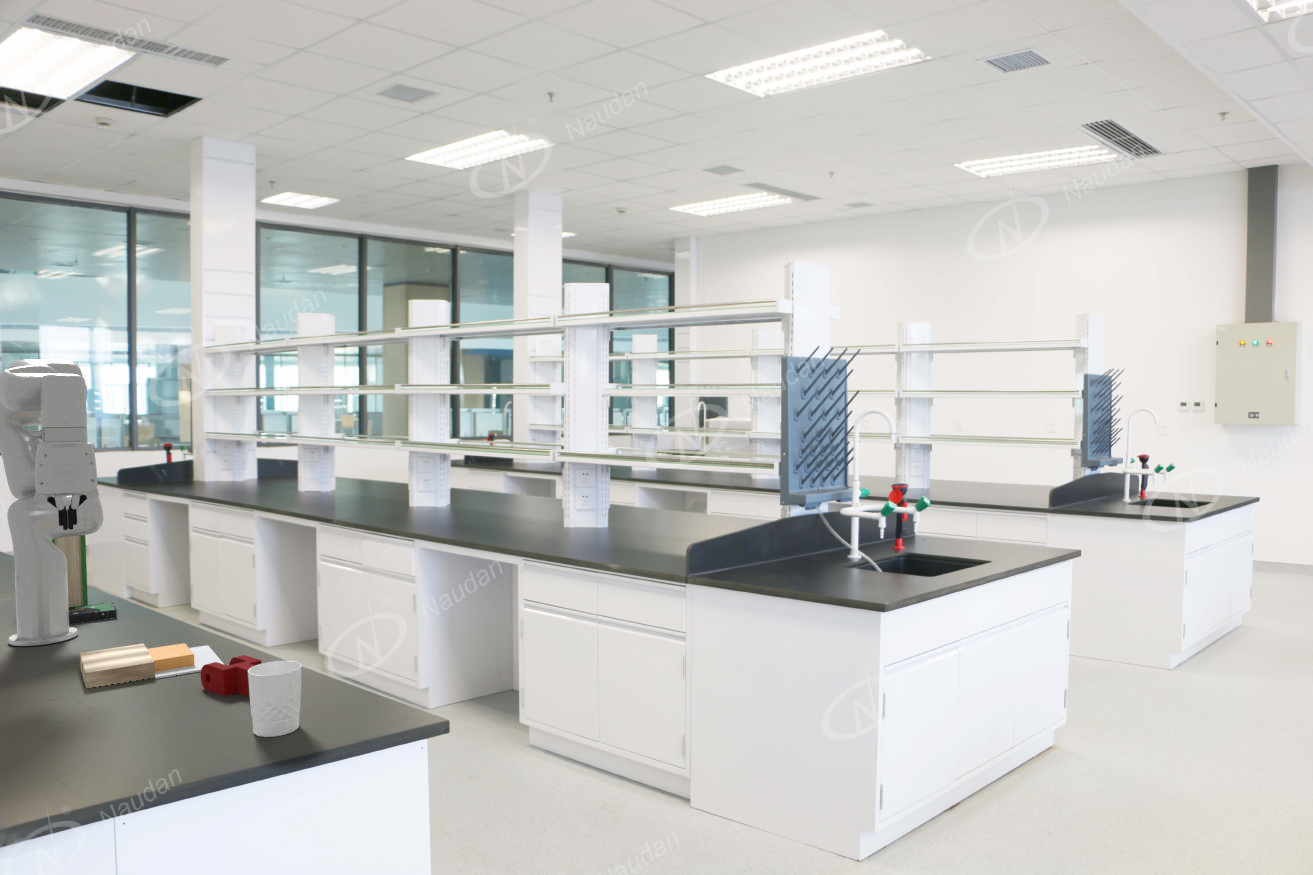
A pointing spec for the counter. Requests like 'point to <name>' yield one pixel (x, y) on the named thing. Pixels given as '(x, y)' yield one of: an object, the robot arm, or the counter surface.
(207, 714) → the counter surface
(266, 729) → the white cup
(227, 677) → the mechanical linkage
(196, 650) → the mat
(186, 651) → the slab
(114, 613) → the disk drive
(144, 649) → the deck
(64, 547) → the hardback book
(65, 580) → the robot arm
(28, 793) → the counter surface
